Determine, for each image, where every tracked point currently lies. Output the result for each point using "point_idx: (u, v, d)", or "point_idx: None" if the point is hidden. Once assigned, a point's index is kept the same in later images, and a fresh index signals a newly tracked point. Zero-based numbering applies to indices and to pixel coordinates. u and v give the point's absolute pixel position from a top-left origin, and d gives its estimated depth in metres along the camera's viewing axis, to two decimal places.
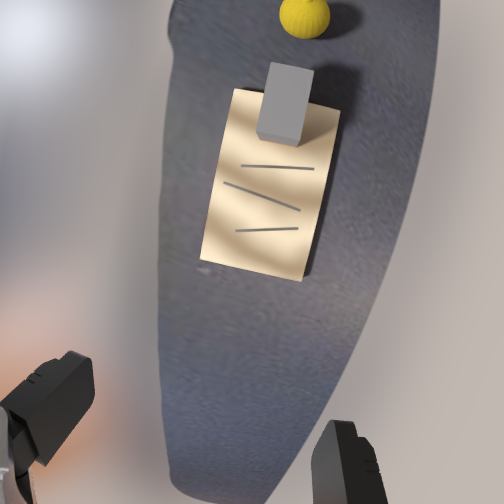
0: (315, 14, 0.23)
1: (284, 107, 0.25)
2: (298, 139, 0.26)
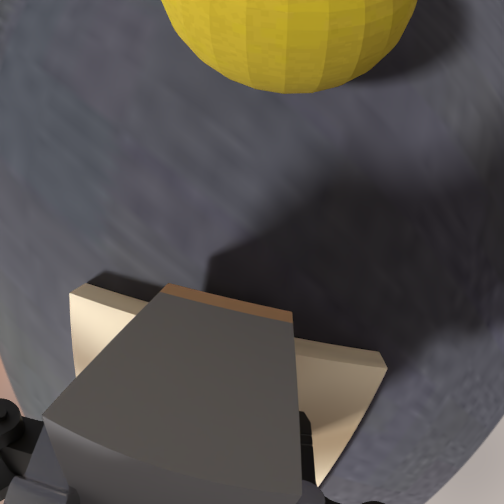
0: None
1: None
2: None
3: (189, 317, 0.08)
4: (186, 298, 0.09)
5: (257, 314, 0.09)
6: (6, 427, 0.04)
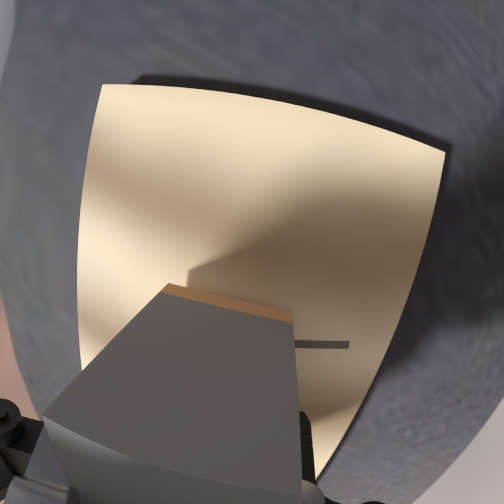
0: None
1: None
2: None
3: (189, 317, 0.08)
4: (186, 298, 0.09)
5: (257, 313, 0.09)
6: (6, 427, 0.04)
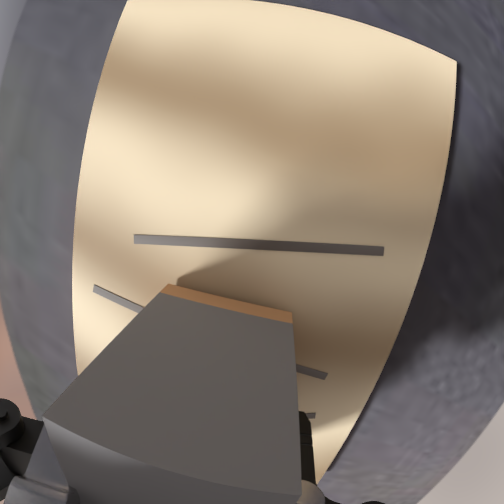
0: None
1: None
2: None
3: (189, 318, 0.08)
4: (186, 298, 0.09)
5: (257, 314, 0.09)
6: (6, 427, 0.04)
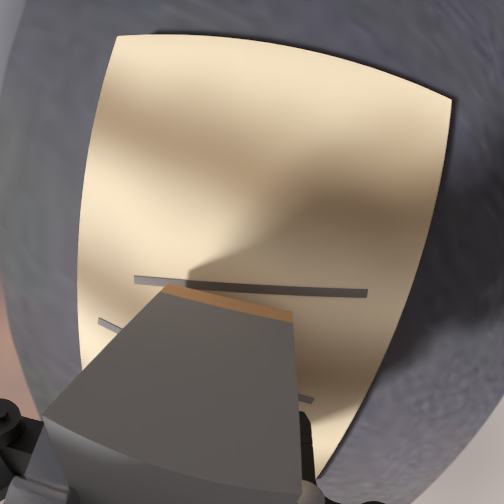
0: None
1: None
2: None
3: (189, 317, 0.08)
4: (186, 298, 0.09)
5: (257, 314, 0.09)
6: (6, 427, 0.04)
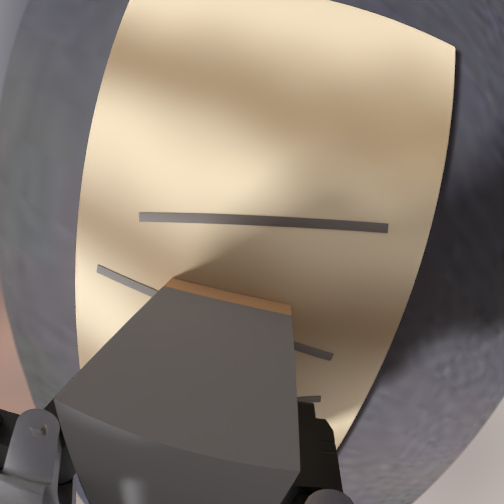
0: None
1: None
2: None
3: (192, 309, 0.08)
4: (189, 292, 0.09)
5: (257, 306, 0.09)
6: None
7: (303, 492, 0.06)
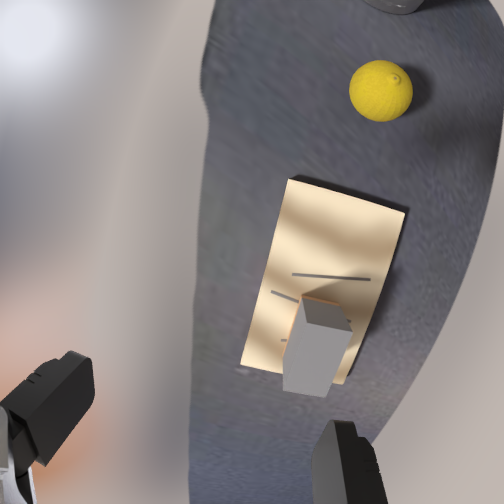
0: (401, 101, 0.20)
1: (315, 371, 0.25)
2: (323, 396, 0.25)
3: (315, 304, 0.28)
4: (310, 299, 0.29)
5: (330, 303, 0.30)
6: None
7: None
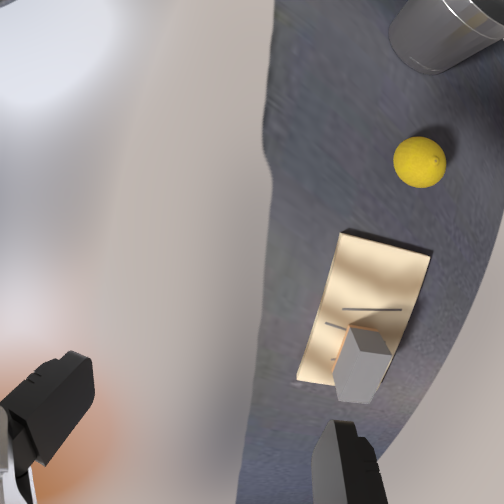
0: (437, 177, 0.26)
1: (363, 385, 0.31)
2: (368, 402, 0.32)
3: (361, 332, 0.34)
4: (356, 328, 0.35)
5: (371, 330, 0.35)
6: None
7: None
